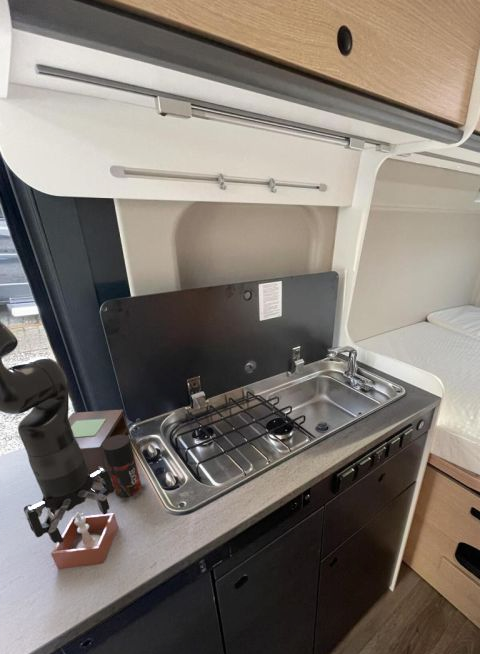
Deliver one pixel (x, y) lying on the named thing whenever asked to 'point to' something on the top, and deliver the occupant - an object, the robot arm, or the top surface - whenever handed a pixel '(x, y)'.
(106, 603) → the top surface
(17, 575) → the top surface
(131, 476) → the deodorant
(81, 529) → the chess piece
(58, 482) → the robot arm
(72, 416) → the green-topped wooden plinth
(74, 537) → the reddish-brown hollow diamond-shaped frame
